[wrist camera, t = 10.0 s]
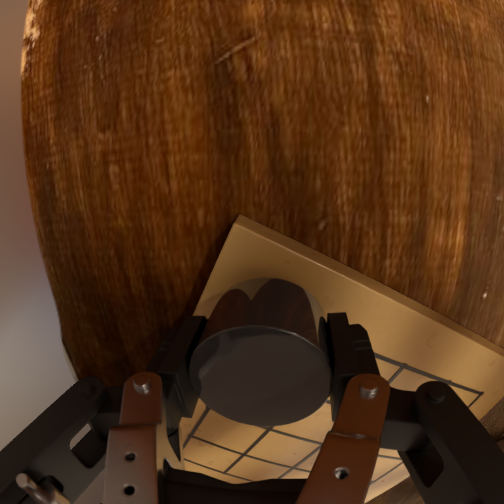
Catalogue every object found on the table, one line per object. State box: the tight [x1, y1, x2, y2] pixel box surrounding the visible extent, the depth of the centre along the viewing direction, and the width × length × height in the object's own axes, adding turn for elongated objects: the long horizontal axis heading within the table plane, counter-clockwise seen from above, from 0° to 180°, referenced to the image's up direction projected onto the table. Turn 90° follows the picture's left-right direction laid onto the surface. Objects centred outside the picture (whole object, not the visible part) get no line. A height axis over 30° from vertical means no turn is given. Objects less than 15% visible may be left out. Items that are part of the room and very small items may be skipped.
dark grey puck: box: [188, 277, 333, 427], centre depth 11 cm, size 5×5×3 cm
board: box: [179, 215, 504, 503], centre depth 18 cm, size 22×22×2 cm
